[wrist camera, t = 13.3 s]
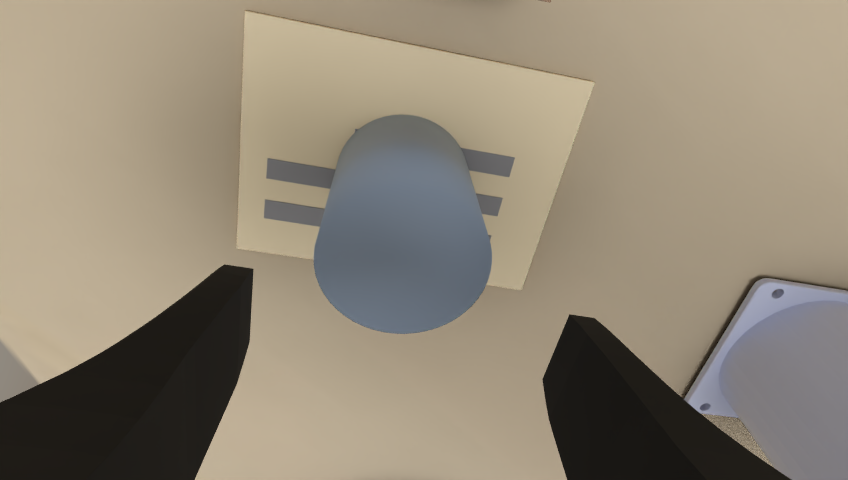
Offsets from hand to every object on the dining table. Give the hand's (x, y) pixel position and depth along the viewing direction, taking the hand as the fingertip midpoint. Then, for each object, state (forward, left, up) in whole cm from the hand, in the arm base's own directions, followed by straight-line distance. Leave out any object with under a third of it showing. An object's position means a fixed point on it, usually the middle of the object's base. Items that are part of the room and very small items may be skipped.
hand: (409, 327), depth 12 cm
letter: (0, 0, -9) cm, 9 cm away
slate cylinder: (0, 0, -9) cm, 9 cm away
